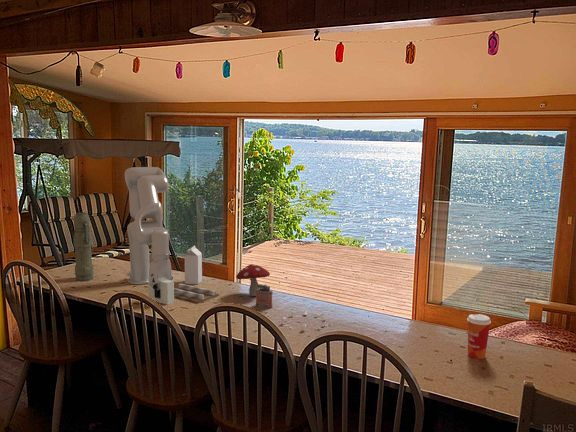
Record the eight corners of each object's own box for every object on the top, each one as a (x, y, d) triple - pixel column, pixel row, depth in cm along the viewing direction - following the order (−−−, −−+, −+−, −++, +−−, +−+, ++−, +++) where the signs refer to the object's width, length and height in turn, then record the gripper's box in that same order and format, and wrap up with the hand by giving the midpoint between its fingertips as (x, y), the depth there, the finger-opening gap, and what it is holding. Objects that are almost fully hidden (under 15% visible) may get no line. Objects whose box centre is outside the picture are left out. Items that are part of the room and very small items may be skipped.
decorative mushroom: (231, 298, 233) (231, 267, 231) (243, 289, 249) (243, 259, 246) (263, 301, 229) (263, 269, 227) (273, 291, 244) (274, 262, 242)
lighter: (273, 306, 222) (273, 285, 221) (270, 309, 219) (270, 287, 218) (257, 304, 226) (257, 282, 224) (254, 306, 222) (254, 284, 221)
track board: (163, 295, 237) (163, 288, 237) (184, 288, 249) (184, 282, 248) (198, 303, 226) (198, 296, 225) (218, 295, 237) (218, 289, 237)
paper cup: (461, 351, 177) (463, 313, 175) (481, 351, 177) (484, 313, 175) (470, 361, 169) (473, 321, 167) (492, 360, 170) (495, 321, 167)
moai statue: (85, 275, 270) (82, 211, 265) (98, 278, 263) (95, 213, 258) (70, 278, 263) (67, 212, 258) (83, 282, 256) (79, 215, 251)
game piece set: (321, 335, 191) (321, 325, 190) (272, 328, 198) (272, 318, 197) (334, 318, 209) (334, 310, 208) (289, 312, 216) (289, 304, 215)
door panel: (148, 299, 230) (148, 278, 228) (156, 297, 233) (155, 276, 232) (167, 304, 223) (167, 283, 222) (174, 302, 227) (174, 280, 225)
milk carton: (202, 281, 262) (201, 245, 259) (198, 284, 255) (197, 248, 252) (188, 280, 263) (188, 245, 260) (184, 284, 256) (184, 247, 253)
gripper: (168, 252, 234) (168, 290, 237) (140, 259, 220) (141, 299, 223) (179, 255, 230) (180, 293, 233) (152, 262, 216) (153, 302, 219)
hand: (161, 296), depth 228 cm, fingers closed on door panel, 4 cm apart
